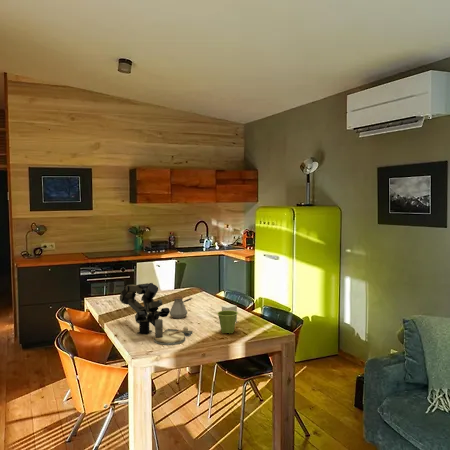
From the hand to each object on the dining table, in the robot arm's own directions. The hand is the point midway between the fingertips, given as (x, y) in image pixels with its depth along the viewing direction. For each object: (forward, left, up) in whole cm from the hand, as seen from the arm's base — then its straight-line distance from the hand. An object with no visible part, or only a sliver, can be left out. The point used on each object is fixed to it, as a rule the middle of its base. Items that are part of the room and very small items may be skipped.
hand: (156, 327), depth 251 cm
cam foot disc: (-5, +7, -6) cm, 11 cm away
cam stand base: (-6, +6, -7) cm, 11 cm away
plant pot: (-26, +32, -7) cm, 42 cm away
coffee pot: (-46, -4, -7) cm, 47 cm away
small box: (-46, +27, -7) cm, 54 cm away
